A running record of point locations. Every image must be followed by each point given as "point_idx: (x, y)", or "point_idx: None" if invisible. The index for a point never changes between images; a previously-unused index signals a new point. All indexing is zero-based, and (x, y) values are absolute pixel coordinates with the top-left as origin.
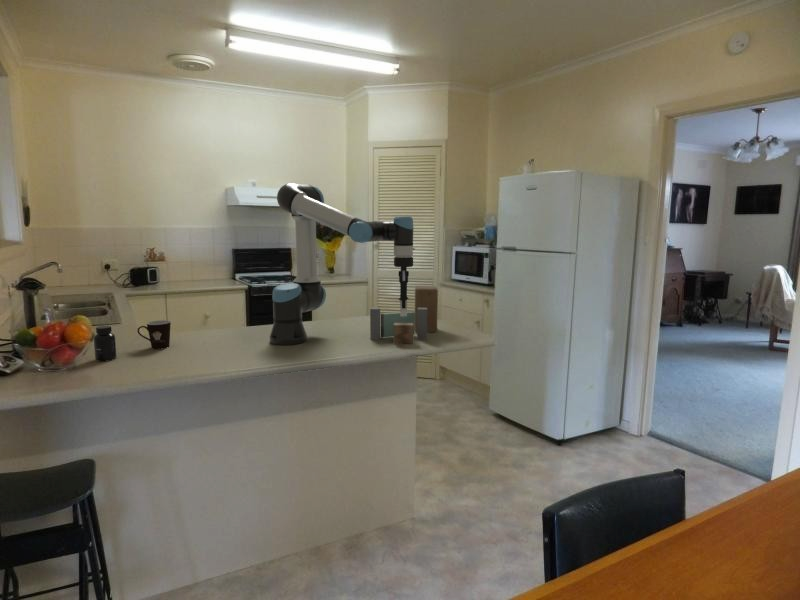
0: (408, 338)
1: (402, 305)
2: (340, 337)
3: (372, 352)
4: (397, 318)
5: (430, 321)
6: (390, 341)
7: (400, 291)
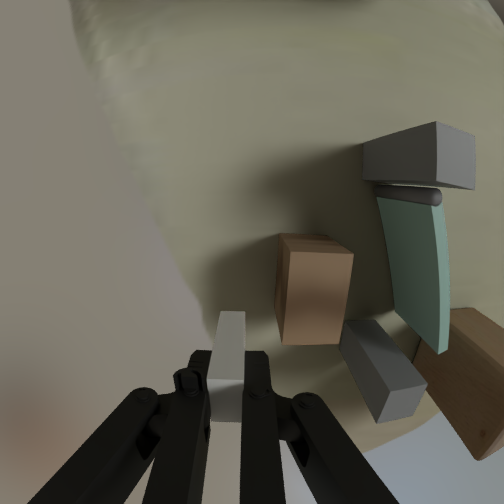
0: (277, 298)
1: (189, 366)
2: (380, 45)
3: (155, 155)
4: (425, 272)
5: (431, 374)
6: (325, 221)
7: (244, 443)
